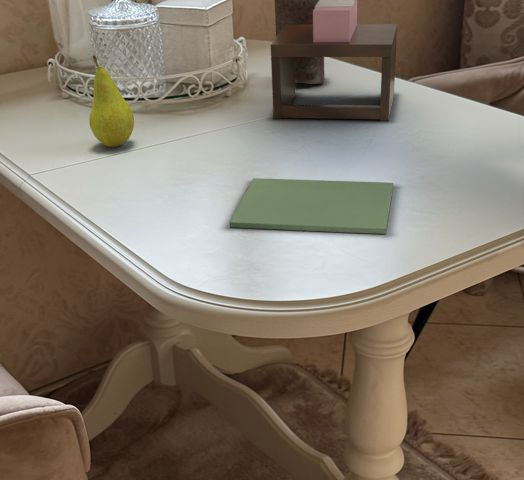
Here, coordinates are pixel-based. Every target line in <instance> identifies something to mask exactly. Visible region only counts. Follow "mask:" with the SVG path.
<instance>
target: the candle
mask: <svg viewBox="0 0 524 480" xmlns="http://www.w3.org/2000/svg"><path fill="white" fill-rule="evenodd" d="M318 1H319V0H274V19H275V21H274V22H275V38H276V37H277V36H278V34H279V33H280V32H281V31H282V29H283V28H284V27H285V25H291V24H313V10H314V9H315V6H316V4H317V3H318ZM324 82H325V57H295V84H306V85H322V84H324Z"/></svg>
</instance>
